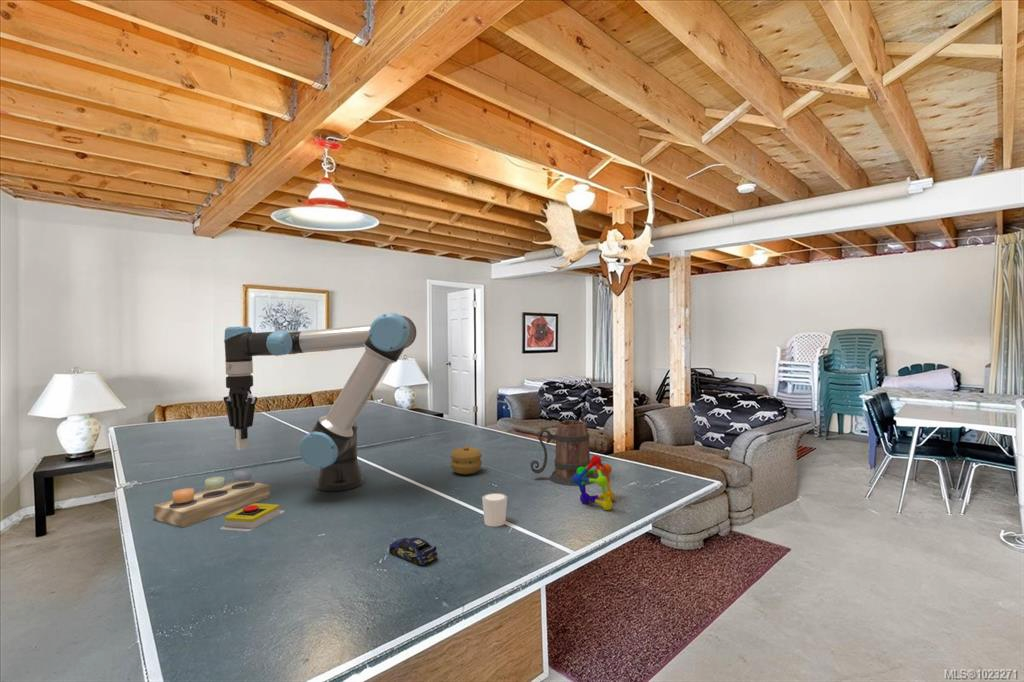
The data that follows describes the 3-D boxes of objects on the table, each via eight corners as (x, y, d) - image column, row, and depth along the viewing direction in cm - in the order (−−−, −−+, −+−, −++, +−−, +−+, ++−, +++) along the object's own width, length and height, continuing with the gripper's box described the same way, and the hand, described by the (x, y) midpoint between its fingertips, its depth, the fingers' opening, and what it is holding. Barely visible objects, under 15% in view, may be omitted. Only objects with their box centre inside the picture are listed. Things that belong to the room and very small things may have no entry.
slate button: (255, 477, 151) (255, 469, 151) (240, 482, 146) (240, 474, 146) (245, 476, 153) (245, 468, 153) (230, 480, 149) (230, 472, 149)
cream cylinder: (488, 529, 123) (488, 502, 123) (478, 520, 129) (478, 495, 129) (512, 524, 126) (511, 498, 126) (500, 516, 132) (500, 491, 132)
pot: (455, 468, 182) (454, 442, 182) (484, 468, 181) (484, 442, 181) (446, 476, 171) (446, 449, 171) (478, 477, 169) (478, 450, 169)
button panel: (269, 497, 150) (269, 484, 150) (183, 527, 127) (183, 511, 127) (241, 491, 156) (241, 479, 156) (153, 519, 133) (153, 504, 133)
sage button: (228, 486, 143) (228, 477, 143) (211, 490, 138) (211, 482, 138) (218, 484, 145) (217, 475, 145) (201, 488, 140) (201, 480, 140)
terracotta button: (197, 498, 135) (197, 489, 135) (179, 504, 130) (179, 494, 130) (187, 496, 137) (187, 487, 137) (168, 501, 132) (168, 492, 132)
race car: (377, 555, 110) (376, 536, 110) (397, 544, 115) (397, 526, 115) (425, 571, 102) (425, 550, 102) (445, 558, 108) (445, 539, 108)
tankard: (591, 471, 175) (590, 418, 175) (601, 485, 158) (601, 426, 158) (529, 472, 174) (528, 419, 174) (532, 487, 158) (531, 427, 157)
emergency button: (218, 515, 125) (258, 496, 140) (218, 531, 125) (258, 511, 140) (248, 517, 123) (286, 498, 138) (248, 533, 123) (286, 512, 138)
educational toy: (572, 499, 148) (571, 451, 149) (613, 501, 146) (612, 452, 148) (573, 513, 132) (572, 459, 134) (619, 514, 131) (618, 460, 132)
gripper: (214, 376, 148) (216, 450, 148) (242, 376, 143) (244, 453, 143) (236, 374, 155) (239, 445, 155) (264, 374, 150) (266, 447, 150)
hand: (241, 449), depth 149 cm, fingers closed
